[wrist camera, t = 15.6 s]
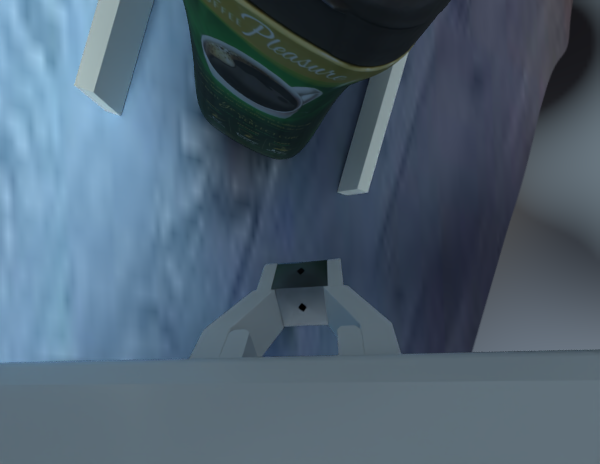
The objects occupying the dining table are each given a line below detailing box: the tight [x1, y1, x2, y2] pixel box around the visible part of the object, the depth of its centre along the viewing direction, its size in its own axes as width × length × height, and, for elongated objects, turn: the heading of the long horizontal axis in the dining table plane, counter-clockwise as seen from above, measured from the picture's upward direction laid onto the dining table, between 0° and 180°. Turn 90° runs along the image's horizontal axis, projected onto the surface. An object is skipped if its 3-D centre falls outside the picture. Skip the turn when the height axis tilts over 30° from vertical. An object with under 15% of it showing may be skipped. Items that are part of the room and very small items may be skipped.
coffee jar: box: [183, 0, 451, 159], centre depth 13 cm, size 10×8×19 cm
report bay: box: [74, 0, 408, 195], centre depth 20 cm, size 14×20×4 cm
